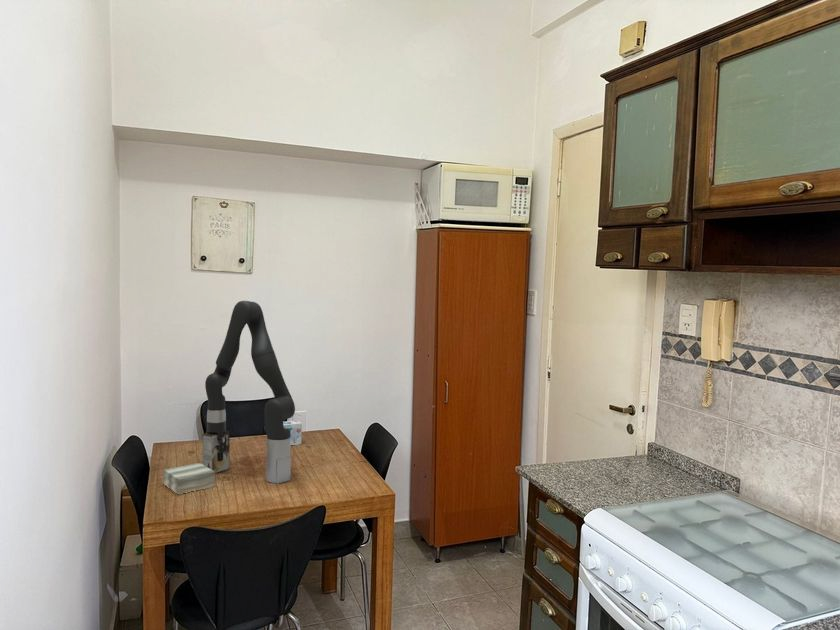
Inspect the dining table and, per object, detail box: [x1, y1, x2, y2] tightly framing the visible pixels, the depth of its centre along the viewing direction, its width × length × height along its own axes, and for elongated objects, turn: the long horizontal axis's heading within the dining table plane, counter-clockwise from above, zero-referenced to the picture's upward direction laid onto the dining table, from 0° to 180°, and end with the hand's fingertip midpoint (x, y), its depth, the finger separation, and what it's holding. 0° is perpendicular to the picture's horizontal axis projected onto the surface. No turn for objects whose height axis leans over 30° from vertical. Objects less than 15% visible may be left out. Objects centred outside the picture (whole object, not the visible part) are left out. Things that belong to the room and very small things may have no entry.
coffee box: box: [201, 430, 231, 474], centre depth 245 cm, size 9×6×16 cm
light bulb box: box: [283, 419, 303, 447], centre depth 286 cm, size 11×7×11 cm, turn 118°
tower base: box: [163, 462, 216, 495], centre depth 226 cm, size 14×14×6 cm
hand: (216, 458), depth 245 cm, fingers closed on coffee box, 7 cm apart
